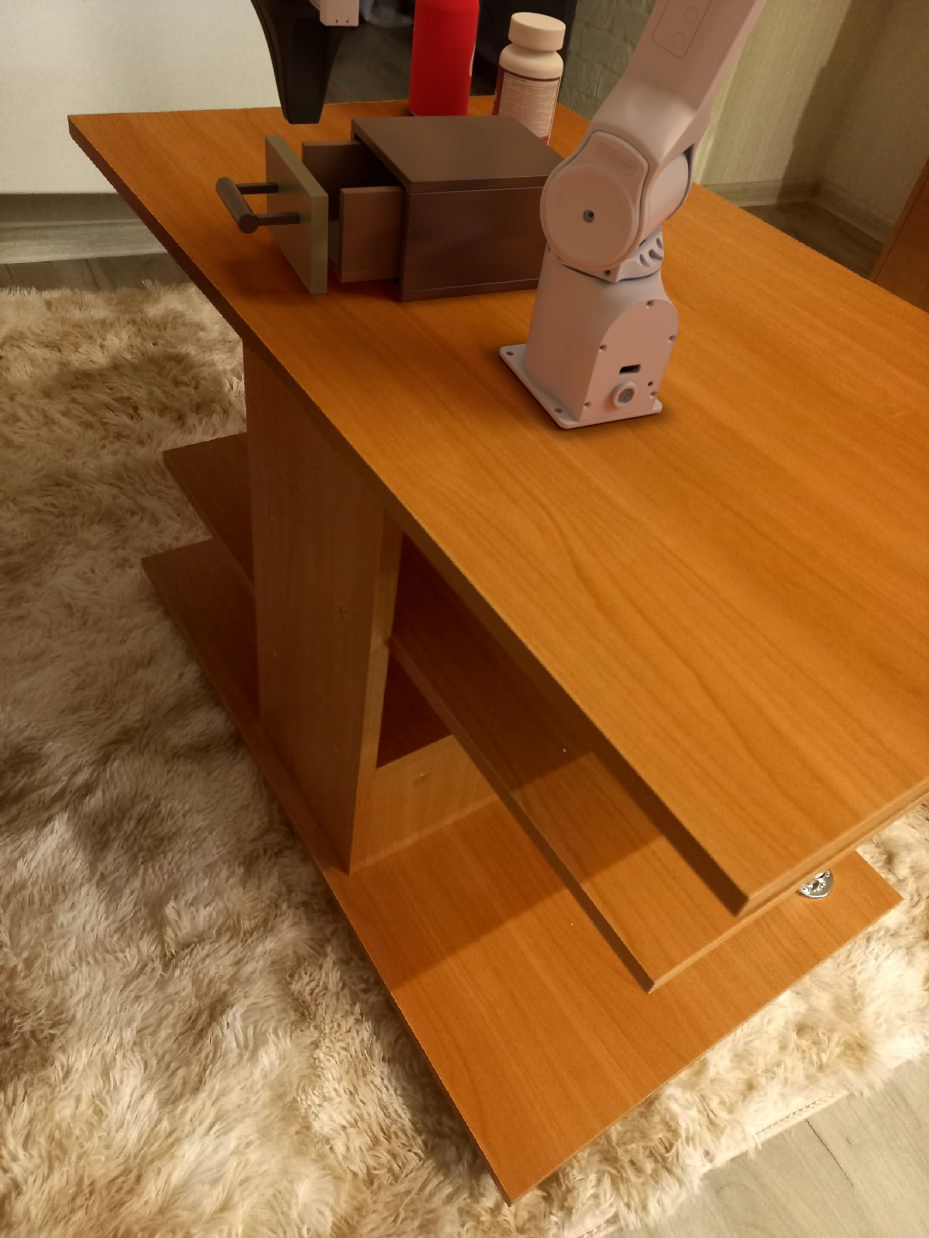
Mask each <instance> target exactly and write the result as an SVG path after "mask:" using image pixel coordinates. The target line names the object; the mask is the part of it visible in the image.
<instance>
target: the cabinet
mask: <svg viewBox="0 0 929 1238" xmlns="http://www.w3.org/2000/svg"><path fill="white" fill-rule="evenodd" d="M350 119H351V120H350V139H349V140H362V141H363V142H364V143H365V144H366V145H367V146H368V147H369V149H370V150H371V151H372V152H373V153H374V154H375V155H376V156H377V157H378V158H379V159H380V160H381V162H382V163H383V164H384V165H385V166H386V167H387V168H388V169H389V170H390V171H391V172H392V173H393V175H394V176H395V177H396V178H397V179H398V180H399V181H400V182H401V183H402V184H403V185H404V187H405V188H406V197H405V210H404V223H403V235H402V248H401V261H400V273H399V278H389V279H383V280H384V281H385V283H386V284H387V285H388V287H389V288H390V289H391V290H392V291H393V293H394V294H395V296H396V297H397V298H398V299H399V301H400V302H401V303H403V302H413V301H423V300H432V299H442V298H451V297H461V296H462V297H463V296H470V295H471V296H472V295H480V294H481V295H482V294H491V293H500V292H501V293H502V292H511V291H519V290H528V289H529V290H530V289H531V290H532V289H537V288H538V283H539V278H540V273H541V268H542V263H543V258H544V253H545V248H546V243H547V239H546V237H545V234H544V231H543V228H542V224H541V219H540V200H541V195H542V191H543V188H544V185H545V183H546V180H547V179H548V177H549V175H550V174H551V172H552V171H553V170H554V169H555V167H556V166H557V165H558V164H560V163H561V162H562V161H563V160H565V159H566V158H565V157H563V156H562V155H561V154H559V152H557V151H556V150H555V149H554V148H552V147H551V146H550V145H547V144H546V143H545V142H544V141H542V140H541V139H540V138H539V137H537V136H536V135H535V134H534V133H532V132H531V131H530V130H529V129H528V128H526V127H525V126H524V125H523V124H521V123H520V122H519V121H518V120H516V119H515V118H514V117H513V116H512V115H492V114H488V115H487V114H483V115H482V114H481V115H479V114H477V115H467V116H369V117H368V116H367V117H366V116H365V117H364V116H363V117H362V116H360V117H354V116H353V117H351V118H350Z"/></svg>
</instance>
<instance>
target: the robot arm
mask: <svg viewBox="0 0 929 1238" xmlns="http://www.w3.org/2000/svg"><path fill="white" fill-rule="evenodd" d="M249 1H250V3H251V4H252V7H253V8H254V11H255V14H256V17H257V19H258V21H259V24H260V26H261V30H262V32H263V36H264V39H265V41H266V46H267V48H268V53H269V58H270V60H271V65H272V70H273V75H274V80H275V85H276V91H277V95H278V99H279V104H280V108H281V112H282V115H283V118H284V119H285V120H286V122H287V123H288V124H289V125H317V124H319V123H320V120H321V117H322V113H323V110H324V105H325V100H326V97H327V96H326V95H327V93H328V92H327V91H328V87H329V84H330V83H329V82H330V79H331V74H332V71H333V66H334V64H335V61H336V58H337V55H338V52H339V50H340V48H341V45H342V43H343V41H344V39H345V37H346V35H347V33H348V32H349V30H350V28H351V27H358V26H359V16H360V15H359V14H360V13H359V11H360V0H249ZM767 2H768V0H656V2H655V3H654V7H653V8H652V10H651V13H650V16H649V18H648V20H647V22H646V25H645V26H644V29H643V30H642V33H641V35H640V38H639V40H638V42H637V45H636V46H635V48H634V50H633V53H632V56H631V58H630V60H629V62H628V64H627V67H626V69H625V70H624V72H623V74H622V75H621V76H620V78H619V79H618V81H617V83H615V86H614V87H613V88H612V90H611V91H610V92H609V93H608V95H607V96H606V98H605V99H604V100H603V102H602V104H601V105H600V107H599V108H598V110H596V112H595V114H594V115H593V117H592V118H591V120H590V122H589V124H588V126H587V129H586V131H585V133H584V135H583V138H582V140H581V141H580V143H579V144H578V145H577V147H576V149H575V150H573V152H572V153H571V154H570V155H569V156H567V157H565V158H564V159H565V160H563V161H562V162H561V163H560V164H558V165H557V166H556V167H555V169H554V170H553V171H552V172H551V174H550V175H549V177H548V179H547V180H546V183H545V185H544V188H543V191H542V195H541V200H540V219H541V224H542V228H543V231H544V234H545V237H546V239H547V243H546V248H545V253H544V258H543V263H542V268H541V273H540V278H539V283H538V288H536V294H535V298H534V303H533V309H532V313H531V319H530V323H529V328H528V333H527V338H526V343H519V344H511V345H510V344H509V345H504V346H501V347H500V348H499V350H498V355H499V356H500V358H501V359H502V360H503V361H504V362H505V363H506V365H507V366H508V367H509V368H510V370H511V371H512V372H513V373H514V374H515V375H516V377H517V378H518V379H519V380H520V381H521V383H522V384H523V385H524V386H525V387H526V389H528V391H529V392H530V393H531V394H532V396H533V397H534V398H535V399H536V400H537V402H539V404H540V405H541V407H543V409H544V410H545V411H546V412H547V413H548V414H549V416H550V417H551V419H553V420H554V422H555V423H556V424H557V425H558V426H559V428H562V429H574V428H580V427H585V426H590V425H596V424H602V423H607V422H613V421H619V420H625V419H630V418H631V419H632V418H637V417H642V416H648V415H653V414H659V413H661V412H662V410H663V404H662V402H661V401H660V400H659V399H658V398H657V396H658V393H659V390H660V388H661V385H662V382H663V378H664V376H665V373H666V370H667V367H668V364H669V361H670V358H671V355H672V352H673V349H674V346H675V343H676V341H677V337H678V333H679V328H680V327H679V326H680V319H679V315H678V310H677V308H676V307H675V305H674V303H673V302H672V301H671V299H670V298H669V296H668V294H667V292H666V291H665V288H664V283H663V281H662V264H663V261H664V257H665V251H664V246H665V245H664V239H663V238H664V237H663V232H662V227H663V222H665V221H667V220H669V219H670V218H672V217H673V216H674V215H675V214H676V213H677V212H679V210H680V209H681V208H682V206H684V204H685V202H686V200H687V199H688V197H689V195H690V191H691V189H692V186H693V181H694V174H695V173H694V172H695V171H694V170H695V161H696V154H697V150H698V148H699V145H700V143H701V141H702V139H703V137H704V135H705V133H706V131H707V130H708V128H709V126H710V123H711V117H712V112H713V111H712V110H713V105H714V101H715V99H716V97H717V95H718V94H719V92H720V89H721V88H722V86H723V84H724V82H725V80H726V78H727V77H728V75H729V73H730V71H731V69H732V67H733V66H734V63H735V62H736V60H737V58H738V56H739V54H740V52H741V50H742V49H743V47H744V45H745V42H746V41H747V39H748V38H749V36H750V34H751V32H752V30H753V29H754V27H755V25H756V23H757V21H758V19H759V17H760V15H761V13H762V11H763V10H764V9H765V6H766V4H767Z"/></svg>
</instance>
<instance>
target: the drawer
mask: <svg viewBox="0 0 929 1238" xmlns="http://www.w3.org/2000/svg"><path fill="white" fill-rule="evenodd" d="M264 153H265V154H264V155H265V182H264V181H263V182H243V183H235V182H234V181H233V179H231V178H230V177H228V176H222V177H219V179H218V180H217V181H216V182H215V186H214V188H215V192H216V194H217V195H218V197H219V198H220V200H221V202H222V203H223V205H224V206H225V208H226V210H227V212H228V214H229V215H230V216H231V218H232V219H233V221H234V223H235V224H236V226H237V227H238V228H239V231H240V232H242V233H243V234H246V235H251V234H254V233H255V232H256V231H257V230H258V228H259V227H267V231H268V232H269V233H270V236H271V237H272V239H273V240H274V242H275V243H276V244H277V246H278V247H279V249H280V251H281V252H282V253H283V255H284V256H285V258H286V260H287V261H288V262H289V264H290V266H291V267H292V269H293V270H294V272H295V273H296V275H297V276H298V278H299V279H300V281H301V282H302V284H303V286H304V287H305V288H306V290H307V291H308V293H309V294H310V295H311V296H313V295H324V294H327V293H328V266H329V268H330V269H331V270H332V272H333V273H334V275H335V276H336V278H337V279H338V281H339V282H340V283H341V284H345V283H355V282H367V281H378V280H384V279H389V278H399V273H400V261H401V248H402V235H403V223H404V210H405V197H406V188H405V187H404V185H403V184H402V183H401V182H400V181H399V180H398V179H397V178H396V177H395V176H394V175H393V173H392V172H391V171H390V170H389V169H388V168H387V167H386V166H385V165H384V164H383V163H382V162H381V160H380V159H379V158H378V157H377V156H376V155H375V154H374V153H373V152H372V151H371V150H370V149H369V147H368V146H367V145H366V144H365V143H364V142H363V141H362V140H350V139H345V140H344V139H343V140H308V141H306V140H305V141H301V159H300V157H299V156H298V155H297V154H296V153H295V151H294V150H293V149H292V147H291V146H290V145H289V143H288V142H287V141H286V140H285V139H284V137H283V136H282V135H281V134H272V135H271V134H270V135H269V134H268V135H264ZM247 195H248V196H249V195H266V211H267V212H266V213H255V212H254V211H253V209H252V208H251V206H250V204H249V203H248V202H247V200H246V199H245V197H244V196H247Z"/></svg>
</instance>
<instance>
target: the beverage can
mask: <svg viewBox="0 0 929 1238" xmlns="http://www.w3.org/2000/svg"><path fill="white" fill-rule="evenodd" d="M479 14H480V1H479V0H415V5H414V20H413V34H412V46H411V47H412V49H411V62H410V75H409V76H410V77H409V91H408V105H407V106H408V110H409V111H410V113H411V115H412V116H413V117H415V116H468V110H469V101H470V94H471V93H470V92H471V84H472V76H473V75H472V74H473V66H474V58H475V50H476V42H477V32H478V24H479V16H480V15H479Z"/></svg>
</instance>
